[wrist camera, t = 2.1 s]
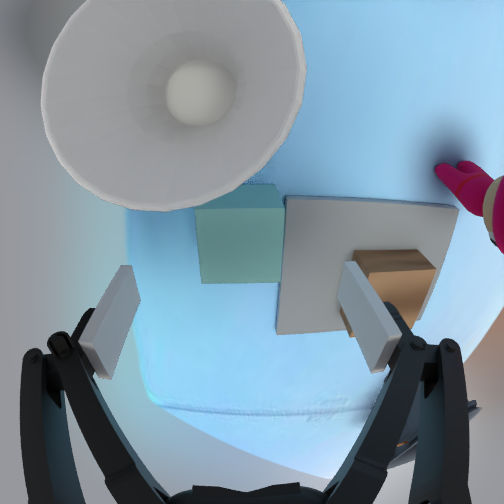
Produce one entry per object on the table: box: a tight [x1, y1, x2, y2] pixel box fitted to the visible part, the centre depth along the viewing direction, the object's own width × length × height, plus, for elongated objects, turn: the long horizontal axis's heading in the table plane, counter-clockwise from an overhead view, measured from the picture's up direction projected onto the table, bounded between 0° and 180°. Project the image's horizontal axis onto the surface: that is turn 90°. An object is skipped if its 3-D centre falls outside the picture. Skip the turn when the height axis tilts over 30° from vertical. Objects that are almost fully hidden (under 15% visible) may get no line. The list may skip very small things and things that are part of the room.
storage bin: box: [387, 382, 482, 469], centre depth 37 cm, size 21×16×14 cm
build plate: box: [276, 196, 459, 335], centre depth 28 cm, size 16×20×1 cm
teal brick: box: [195, 184, 285, 284], centre depth 22 cm, size 6×6×6 cm
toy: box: [435, 161, 504, 254], centre depth 16 cm, size 8×8×15 cm
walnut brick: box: [340, 249, 437, 338], centre depth 26 cm, size 8×8×4 cm
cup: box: [41, 0, 307, 212], centre depth 14 cm, size 10×10×14 cm
